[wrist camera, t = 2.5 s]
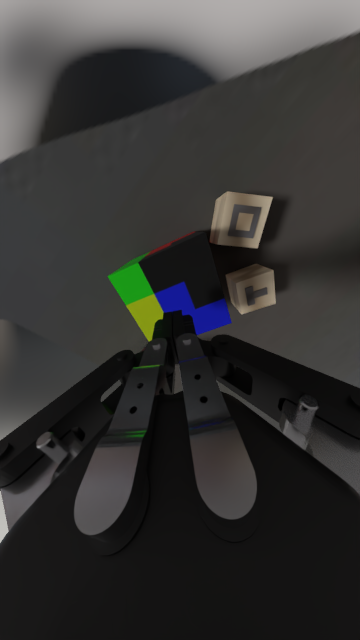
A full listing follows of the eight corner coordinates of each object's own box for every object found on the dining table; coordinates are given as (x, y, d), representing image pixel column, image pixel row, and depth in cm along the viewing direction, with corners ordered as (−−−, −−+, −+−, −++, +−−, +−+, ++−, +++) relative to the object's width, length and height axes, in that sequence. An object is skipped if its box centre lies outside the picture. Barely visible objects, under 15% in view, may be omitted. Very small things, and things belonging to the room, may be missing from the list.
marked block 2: (256, 263, 25) (274, 270, 20) (259, 291, 27) (276, 304, 23) (225, 274, 26) (236, 283, 21) (230, 301, 28) (241, 315, 23)
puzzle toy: (213, 293, 27) (231, 322, 18) (160, 313, 29) (154, 349, 20) (193, 231, 23) (205, 231, 14) (131, 260, 24) (107, 276, 15)
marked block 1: (252, 204, 21) (274, 196, 17) (242, 245, 24) (258, 248, 19) (215, 199, 21) (227, 191, 16) (209, 242, 23) (217, 244, 19)
